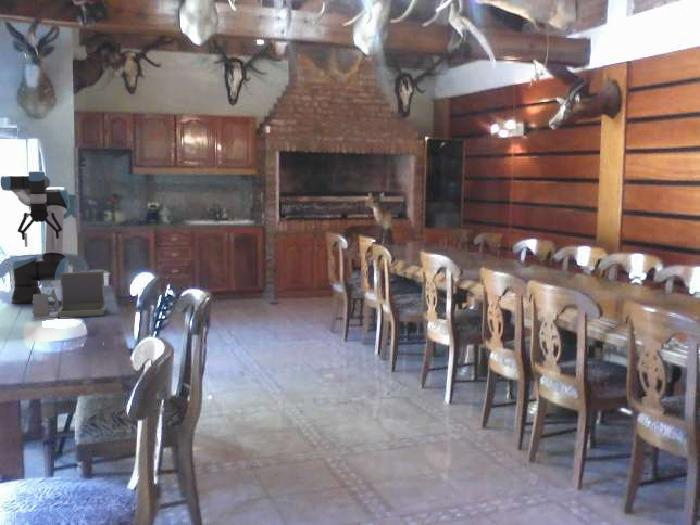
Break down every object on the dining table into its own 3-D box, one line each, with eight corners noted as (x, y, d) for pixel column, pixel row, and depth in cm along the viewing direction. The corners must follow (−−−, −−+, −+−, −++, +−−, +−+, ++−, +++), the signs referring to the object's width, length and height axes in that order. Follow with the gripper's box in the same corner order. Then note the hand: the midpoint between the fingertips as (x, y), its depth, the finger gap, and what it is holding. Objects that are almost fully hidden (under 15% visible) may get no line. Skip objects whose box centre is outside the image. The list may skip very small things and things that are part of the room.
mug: (31, 314, 352) (30, 289, 351) (58, 312, 358) (56, 287, 356) (33, 317, 346) (32, 291, 344) (60, 314, 351) (59, 289, 350)
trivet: (36, 314, 355) (36, 313, 355) (58, 313, 358) (58, 312, 358) (33, 318, 346) (33, 317, 346) (56, 317, 348) (56, 316, 348)
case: (62, 311, 364) (60, 272, 361) (105, 308, 369) (103, 270, 367) (58, 318, 346) (55, 278, 343) (103, 315, 351) (101, 276, 349)
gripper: (9, 203, 356) (12, 247, 358) (64, 202, 362) (67, 245, 365) (12, 202, 363) (15, 246, 366) (66, 201, 370) (68, 244, 372)
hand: (41, 246), depth 365 cm, fingers open, 13 cm apart
